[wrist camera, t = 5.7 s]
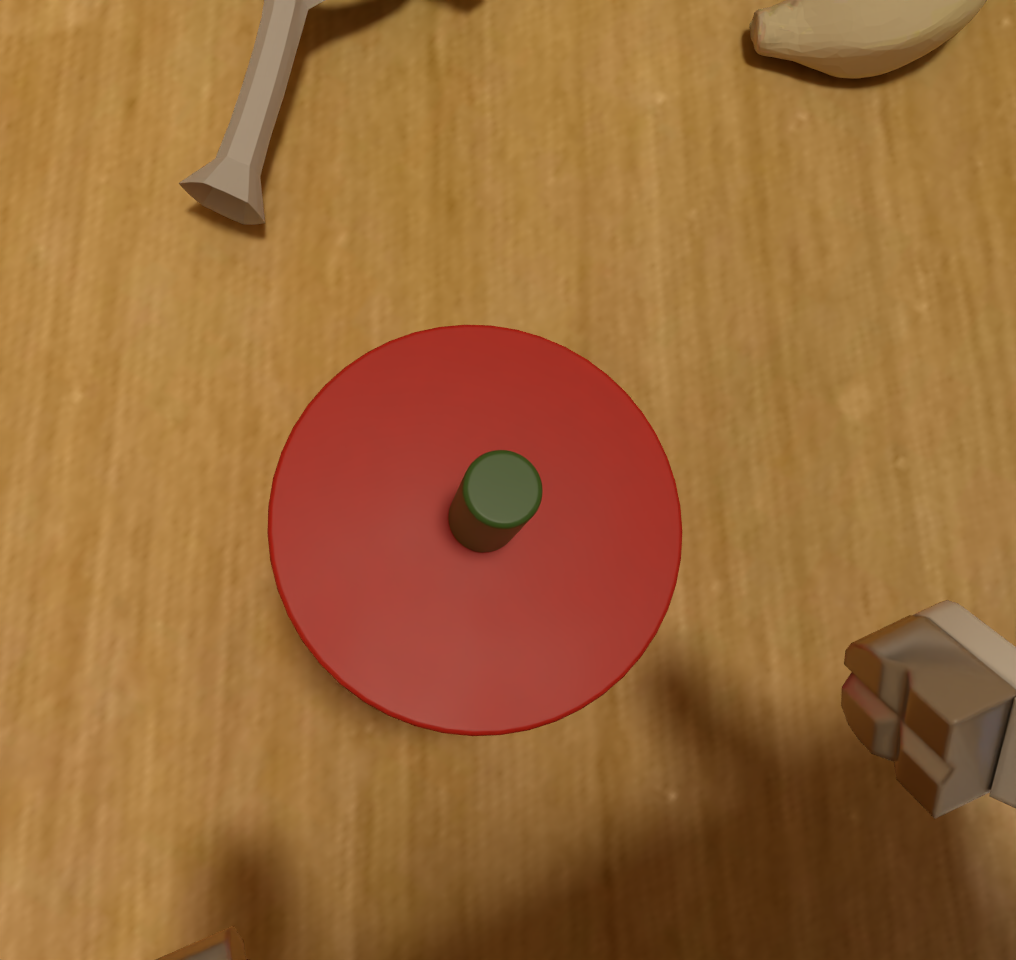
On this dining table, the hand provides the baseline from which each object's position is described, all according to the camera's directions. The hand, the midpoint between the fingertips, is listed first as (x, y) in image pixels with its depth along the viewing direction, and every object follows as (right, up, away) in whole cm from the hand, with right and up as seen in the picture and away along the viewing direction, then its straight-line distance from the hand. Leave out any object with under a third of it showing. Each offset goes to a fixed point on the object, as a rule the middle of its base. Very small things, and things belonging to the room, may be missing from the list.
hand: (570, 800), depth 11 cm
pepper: (-2, +2, +9) cm, 9 cm away
